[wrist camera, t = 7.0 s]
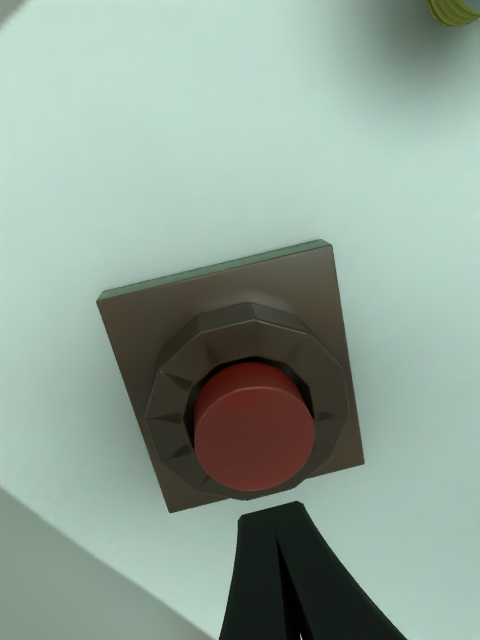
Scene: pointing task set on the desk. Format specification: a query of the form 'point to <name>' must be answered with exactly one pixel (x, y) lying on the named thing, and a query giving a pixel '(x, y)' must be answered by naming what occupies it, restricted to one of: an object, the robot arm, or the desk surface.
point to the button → (252, 427)
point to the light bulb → (454, 11)
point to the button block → (234, 358)
